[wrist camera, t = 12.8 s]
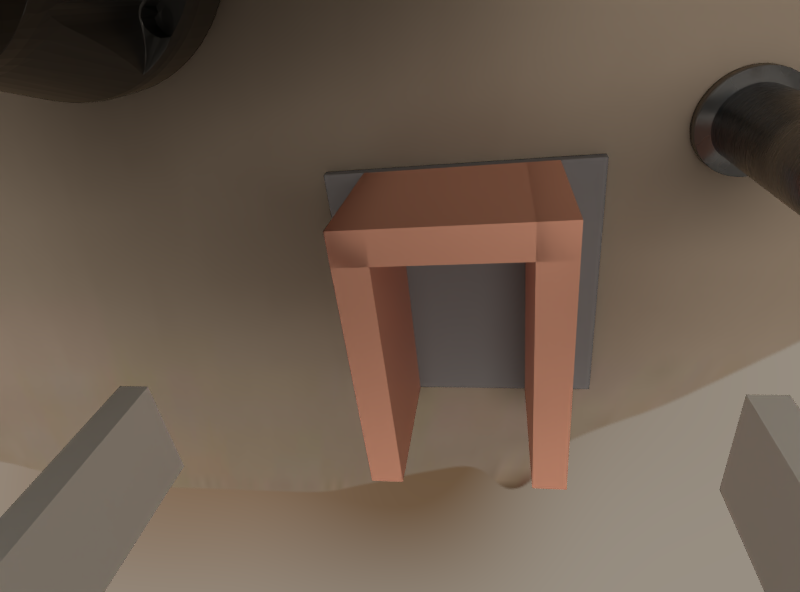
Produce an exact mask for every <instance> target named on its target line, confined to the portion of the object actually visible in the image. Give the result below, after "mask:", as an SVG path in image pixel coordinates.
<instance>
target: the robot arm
mask: <svg viewBox="0 0 800 592" xmlns="http://www.w3.org/2000/svg"><path fill="white" fill-rule="evenodd" d="M219 1H220V0H0V91H2V92H7V93H13V94H18V95H24V96H29V97H35V98H40V99H46V100H51V101H58V102H69V103H85V102H98V101H105V100H110V99H114V98H117V97H121V96H124V95H128V94H131V93H134V92H138V91H141V90H144V89H147V88H149V87H152V86H154V85H156V84H158V83H160V82H161V81H163V80H165V79H166V78H168V77H169V76H171V75H172V74H173V73H175V72H176V71H177V70H178V69H179V68H180V67H182V66H183V65H184V64H185V63H186V62H187V61H188V59H189V58H190V57H191V56H192V55H193V53H194V52H195V51H196V50H197V48H198V47H199V45H200V44H201V42H202V40H203V39H204V37H205V35H206V33H207V32H208V30H209V28H210V26H211V23H212V21H213V18H214V16H215V14H216V11H217V7H218V4H219ZM183 467H184V465H183V463H182V461H181V458H180V456H179V454H178V452H177V450H176V447H175V445H174V443H173V441H172V439H171V436H170V434H169V432H168V430H167V428H166V425H165V423H164V421H163V419H162V416H161V414H160V412H159V410H158V408H157V405H156V403H155V401H154V399H153V397H152V394H151V392H150V390H149V388H148V387H134V386H120V387H119V388H118V389H117V390H116V391H115V392H114V393H113V395H112V396H111V397H110V398H109V399H108V400H107V401H106V402H105V403H104V404H103V406H102V407H101V408H100V409H99V410H98V411H97V412H96V413H95V414H94V415H93V417H92V418H91V419H90V420H89V421H88V422H87V423H86V424H85V425H84V426H83V428H82V429H81V430H80V431H79V432H78V433H77V434H76V435H75V436H74V437H73V438H72V440H71V441H70V442H69V443H68V444H67V445H66V446H65V447H64V448H63V449H62V451H61V452H60V453H59V454H58V455H57V456H56V457H55V458H54V459H53V460H52V462H51V463H50V464H49V465H48V466H47V467H46V468H45V469H44V470H43V471H42V473H41V474H40V475H39V476H38V477H37V478H36V479H35V480H34V481H33V482H32V484H31V485H30V486H29V487H28V488H27V489H26V490H25V491H24V492H23V493H22V494H21V496H20V497H19V498H18V499H17V500H16V501H15V502H14V503H13V504H12V505H11V507H10V508H9V509H8V510H7V511H6V512H5V513H4V514H3V515H2V516H1V518H0V592H105V590H106V589H107V587H108V585H109V584H110V582H111V581H112V579H113V577H114V576H115V574H116V573H117V571H118V570H119V568H120V566H121V565H122V563H123V562H124V560H125V559H126V557H127V555H128V554H129V552H130V551H131V549H132V548H133V546H134V544H135V543H136V541H137V539H138V538H139V536H140V535H141V533H142V532H143V530H144V529H145V527H146V525H147V524H148V522H149V521H150V519H151V518H152V516H153V514H154V513H155V511H156V509H157V508H158V506H159V505H160V503H161V501H162V500H163V498H164V497H165V495H166V494H167V492H168V490H169V489H170V487H171V486H172V484H173V483H174V481H175V480H176V478H177V476H178V475H179V473H180V472H181V470H182V468H183ZM720 492H721V494H722V496H723V498H724V501H725V503H726V505H727V508H728V510H729V512H730V515H731V517H732V519H733V521H734V524H735V526H736V528H737V530H738V533H739V535H740V537H741V539H742V542H743V544H744V546H745V549H746V551H747V553H748V555H749V558H750V560H751V562H752V564H753V566H754V569H755V571H756V574H757V576H758V578H759V580H760V583H761V585H762V587H763V589H764V592H800V409H799V407H798V406H797V405H796V403H795V402H794V400H793V399H792V397H791V396H790V395H746V397H745V401H744V404H743V408H742V411H741V415H740V419H739V422H738V426H737V429H736V433H735V436H734V440H733V443H732V447H731V450H730V454H729V458H728V461H727V465H726V468H725V472H724V475H723V479H722V482H721V486H720Z"/></svg>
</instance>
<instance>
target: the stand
mask: <svg viewBox="0 0 800 592" xmlns="http://www.w3.org/2000/svg"><path fill="white" fill-rule="evenodd" d="M690 137H691V143H692V146H693V149H694V151H695V153H696V154H697V156H698V157H699V158H700V159H701V160H702V161H703V162H704V163H705V164H706V165H707V166H709V167H710V168H711V169H713V170H714V171H716V172H718V173H721V174H724V175H728V176H735V177H744V176H749V177H750V178H751V179H752V180H754V181H755V182H756V183H758V184H759V185H760V186H762V187H763V188H764V189H766V190H767V191H768V192H770V193H771V194H772V195H774V196H775V197H776V198H778V199H779V200H780V201H782V202H783V203H784V204H786V205H787V206H788V207H789V208H791V209H792V210H793V211H795V212H796V213H797V214H799V215H800V72H798V71H797V70H794V69H792V68H790V67H786V66H782V65H778V64H773V63H758V64H752V65H748V66H745V67H742V68H739V69H737V70H735V71H733V72H731V73H729V74H727V75H726V76H724V77H723V78H721V79H720V80H719V81H717V82H716V83H715V84H714V85H713V86H712V87H711V88H710V89H709V90H708V91H707V92H706V93H705V95H704V96H703V97H702V99H701V100H700V102H699V103H698V105H697V107H696V109H695V112H694V114H693V117H692V121H691V128H690Z"/></svg>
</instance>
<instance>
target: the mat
mask: <svg viewBox="0 0 800 592" xmlns="http://www.w3.org/2000/svg"><path fill="white" fill-rule="evenodd" d="M608 158H609V157H608V155H607V154H595V155H580V156H564V157H549V158H534V159H519V160H504V161H488V162H473V163H458V164H443V165H428V166H413V167H397V168H382V169H367V170H352V171H337V172H326V173H325V174H324V179H325V185H326V190H327V196H328V201H329V206H330V212H331V217H332V218H333V217H334V215H335V214H336V212H337V211H338V209H339V208H340V207H341V205H342V204H343V202H344V201H345V199H346V198H347V197H348V195H349V194H350V192H351V191H352V189H353V188H354V186H355V185H356V184H357V182H358V181H359V179H360V178H361V176H362V175H363V174H364V173H371V172H386V171H401V170H416V169H431V168H446V167H462V166H477V165H492V164H507V163H522V162H537V161H552V160H561V162H562V165H563V167H564V170H565V172H566V175H567V178H568V180H569V183H570V186H571V188H572V191H573V194H574V196H575V199H576V202H577V204H578V207H579V210H580V212H581V215H582V218H583V233H582V249H581V265H580V281H579V297H578V313H577V329H576V345H575V361H574V377H573V389H589V385H590V373H591V361H592V349H593V337H594V325H595V313H596V301H597V289H598V277H599V265H600V253H601V241H602V229H603V217H604V205H605V193H606V181H607V169H608ZM406 269H407V277H408V286H409V294H410V303H411V311H412V320H413V328H414V336H415V345H416V353H417V362H418V370H419V379H420V387H475V388H525V262H521V263H489V264H458V265H426V266H406Z"/></svg>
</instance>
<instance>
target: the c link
mask: <svg viewBox="0 0 800 592" xmlns="http://www.w3.org/2000/svg"><path fill="white" fill-rule="evenodd" d="M582 233H583V218H582V215H581V212H580V210H579V207H578V204H577V202H576V199H575V196H574V194H573V191H572V188H571V186H570V183H569V180H568V178H567V175H566V172H565V170H564V167H563V165H562V162H561V160H552V161H537V162H522V163H507V164H492V165H477V166H462V167H446V168H431V169H416V170H401V171H386V172H371V173H364V174H363V175H362V176H361V178H360V179H359V181H358V182H357V184H356V185H355V186H354V188H353V189H352V191H351V192H350V194H349V195H348V197H347V198H346V199H345V201H344V202H343V204H342V205H341V207H340V208H339V209H338V211H337V212H336V214H335V215H334V217H333V218H332V220H331V221H330V222H329V224H328V225H327V227H326V228H325V230H324V231H323V234H324V239H325V244H326V249H327V254H328V259H329V264H330V269H331V274H332V279H333V284H334V289H335V294H336V299H337V304H338V309H339V314H340V319H341V325H342V330H343V335H344V340H345V345H346V350H347V355H348V360H349V365H350V370H351V375H352V380H353V385H354V390H355V395H356V400H357V405H358V410H359V415H360V421H361V426H362V431H363V436H364V441H365V446H366V451H367V456H368V461H369V466H370V471H371V476H372V481H393V482H403V479H404V473H405V468H406V463H407V457H408V452H409V446H410V441H411V436H412V430H413V425H414V419H415V414H416V409H417V403H418V398H419V392H420V379H419V370H418V362H417V353H416V345H415V336H414V328H413V320H412V311H411V303H410V294H409V286H408V277H407V269H406V266H426V265H458V264H489V263H521V262H525V397H526V411H527V424H528V438H529V451H530V465H531V478H532V488H543V489H564V490H566V489H567V472H568V457H569V441H570V425H571V409H572V393H573V377H574V361H575V345H576V329H577V313H578V297H579V281H580V265H581V249H582Z"/></svg>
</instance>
